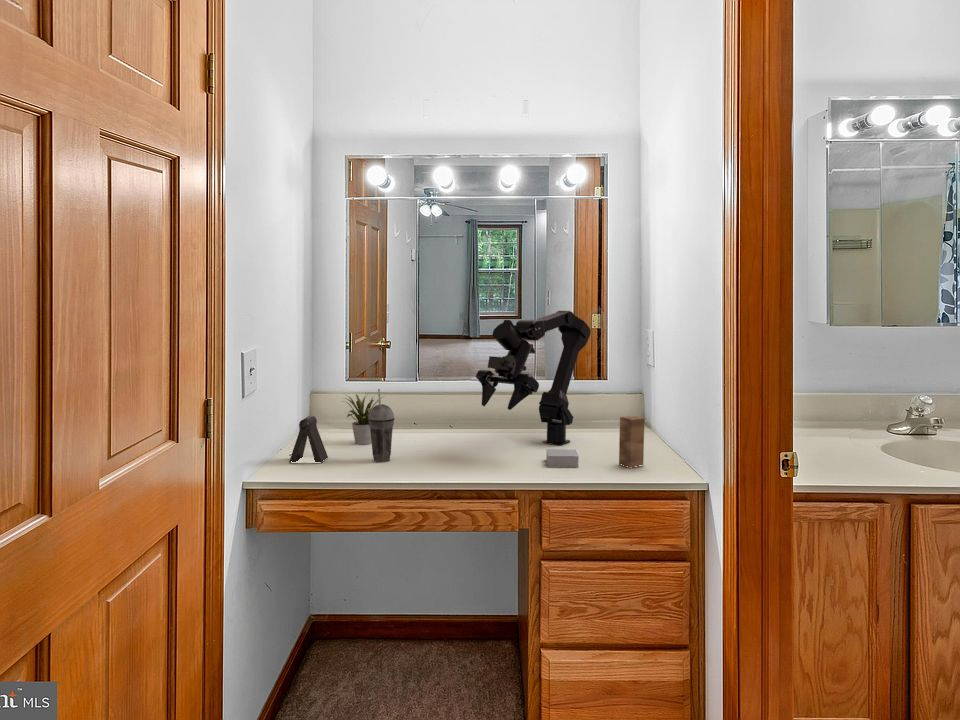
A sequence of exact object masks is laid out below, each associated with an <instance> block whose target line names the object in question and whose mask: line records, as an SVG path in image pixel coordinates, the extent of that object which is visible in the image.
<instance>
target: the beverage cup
mask: <svg viewBox="0 0 960 720" xmlns="http://www.w3.org/2000/svg"><path fill="white" fill-rule="evenodd" d="M377 393H378V394H377V395H378V399H379V401H378V404H375V405H374V406H373V408H372V407H371V408H372V409H371V411H370V413H369V412H368V413H369V418H368V420H369V427H370V432H371V442H372V444H371V450H372V457H373V462H374V463H388V462H390V461H391V455H392V454H391V453H392V441H393V428H394V424H395V419H396V418H395V415H394V412H393V410H392V408H391V407H390V406H388V405H386V404H382V401H381V399H382V398H381V389H380V388H378V389H377ZM380 398H381V399H380Z"/></svg>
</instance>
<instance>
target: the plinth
mask: <svg viewBox="0 0 960 720" xmlns="http://www.w3.org/2000/svg"><path fill="white" fill-rule="evenodd" d="M545 460H546V463H547V464H546V465H547V467H548V468H579V460H580V459H579V454H578V451H577V449H568V448H566V449H565V448H559V449H558V448H557V449H556V448H553V449H552V448H546V459H545Z"/></svg>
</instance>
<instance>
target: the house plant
mask: <svg viewBox="0 0 960 720" xmlns="http://www.w3.org/2000/svg"><path fill="white" fill-rule="evenodd" d="M354 395H355V397H356V400H357V401H355V402H354V400H353V398H352V397H351V396H349V395H348V394H343V393H342V396H347V397H348V398H349V399H348V398H343V399H344V400H348V401H349V402H350V403H349V402H347V401H343V400H342V401H341V402H344V403H347V405H349V406H350V408H351V410H348V412H345V413H347V415H346V418H349V417H352V418H353V419H354V420H355V421H354V422H352V423H351V427H352V432H353V437H354V443H355V445H357V444H359V445H358V446H367V444H368V445H372V442H371V432H370V427H369V420H368V418H369V413H370V411H371V409H372V408H373V407H374V406H376V405H377V403H379V398H378V399H377V400H376V401H375V399H374V396H372V397H371V399H370V400H369V402H368V404H367V405H366V407H365V399H366V397H367V396H368V394H367V391H366V392H365V395H364V398H363V399H362V400H361V399H360V397H359V395H358V394H357V393H356V392H355V394H354ZM385 397H386V396H381V397H380V399H383V398H385ZM374 401H375V403H373V402H374ZM351 404H352V405H351ZM372 404H373V405H372ZM352 406H353V407H354V408H355V409H354V408H353V407H352ZM364 408H365V409H364Z"/></svg>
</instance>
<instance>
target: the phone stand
mask: <svg viewBox="0 0 960 720" xmlns="http://www.w3.org/2000/svg"><path fill="white" fill-rule="evenodd" d="M317 421H318V420H317V417H316V416H314V415H312V416H310V415H309V416H307V417H305V418H303V419H301V420H300V421H299V424H298V426H299V429H298V431H299V432H298V434H297V437H296V440H295V442H294V443H295V444H294V446H293V449H292V453H291V454H290V457H289V458H290V459H289V460H288V461H289V462H291V461H292V462H296V461H298V460H299V459H300V458H302V457H303V456H304V453H305V448H306V444H307V440H308V442H309V446H310V449H311V452H312V455H313V456H312V457H314V460H315V462H322V461H323V460H325V459H326V458H327V459H329V456H328V453H327V450H326V448H325V445H324V442H323V440H322V438H321V435H320V432H319V429H318V426H317V423H318V422H317ZM327 459H326V460H327ZM326 460H325V461H326ZM322 463H323V462H322Z"/></svg>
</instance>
